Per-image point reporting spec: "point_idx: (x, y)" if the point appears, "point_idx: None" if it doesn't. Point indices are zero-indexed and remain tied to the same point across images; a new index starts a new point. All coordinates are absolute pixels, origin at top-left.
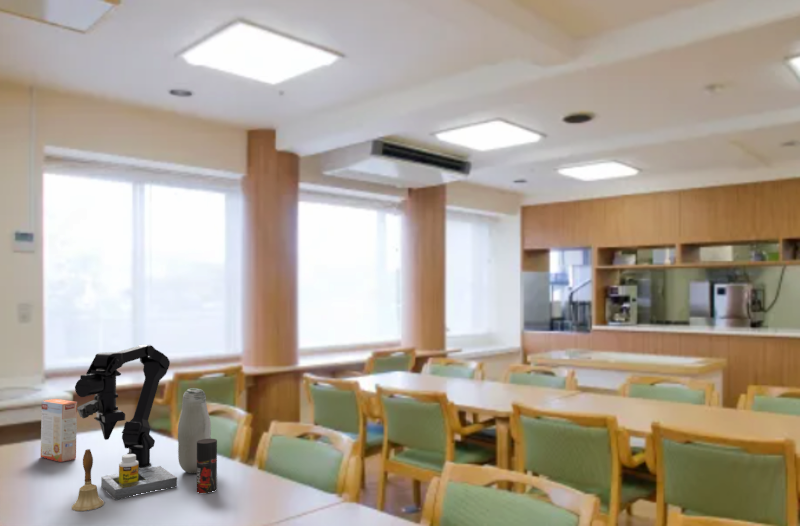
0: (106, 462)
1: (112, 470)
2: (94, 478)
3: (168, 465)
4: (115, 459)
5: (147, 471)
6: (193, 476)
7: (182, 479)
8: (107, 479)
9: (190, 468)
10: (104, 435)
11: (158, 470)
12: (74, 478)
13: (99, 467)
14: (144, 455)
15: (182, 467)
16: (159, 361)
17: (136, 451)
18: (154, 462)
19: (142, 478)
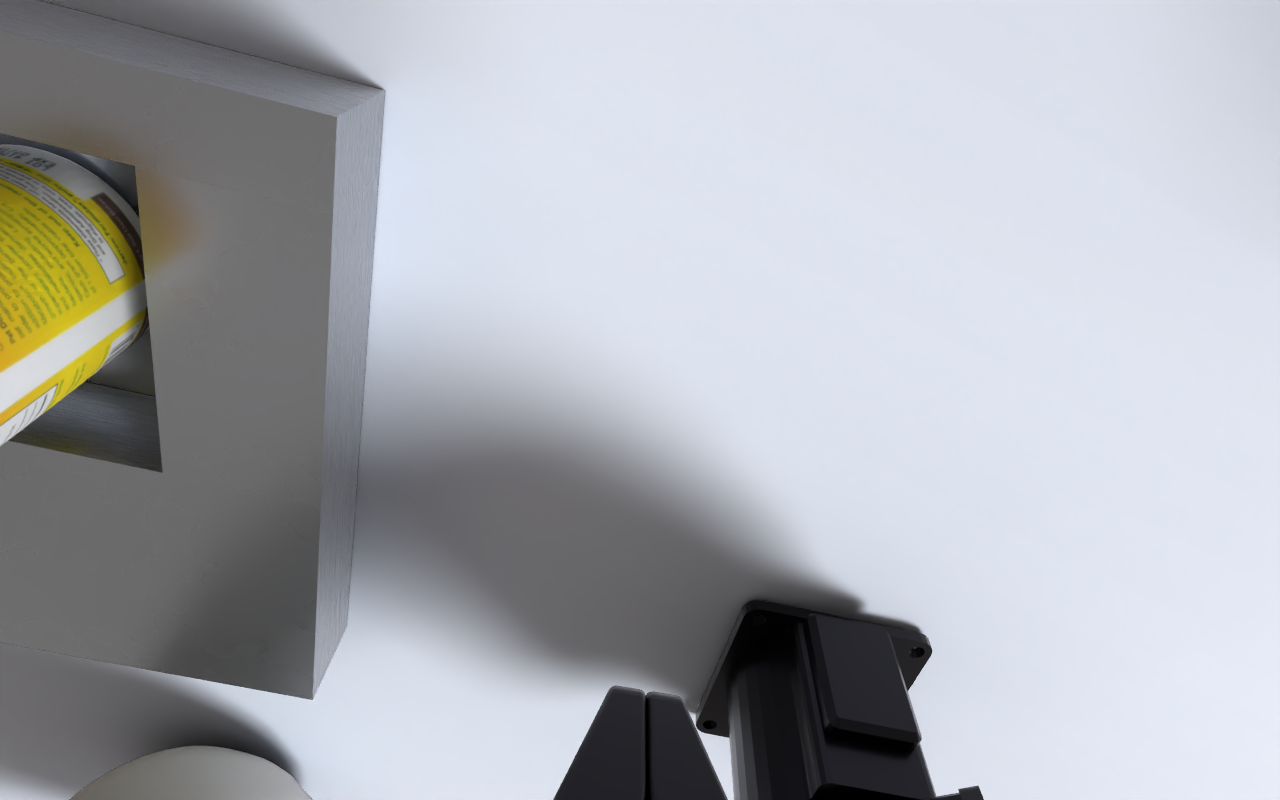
0: (1244, 584)
1: (909, 483)
2: (811, 216)
3: None
4: (1231, 668)
5: (182, 557)
6: (115, 724)
7: None
8: (121, 101)
9: (97, 779)
10: (576, 785)
11: (146, 624)
12: (1080, 43)
13: (1164, 464)
14: (733, 780)
15: (173, 765)
16: None
17: (777, 788)
18: None
19: None
